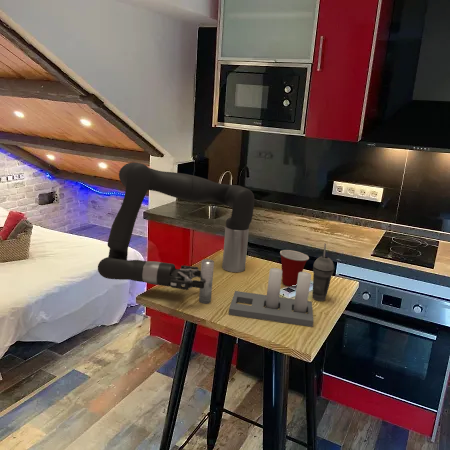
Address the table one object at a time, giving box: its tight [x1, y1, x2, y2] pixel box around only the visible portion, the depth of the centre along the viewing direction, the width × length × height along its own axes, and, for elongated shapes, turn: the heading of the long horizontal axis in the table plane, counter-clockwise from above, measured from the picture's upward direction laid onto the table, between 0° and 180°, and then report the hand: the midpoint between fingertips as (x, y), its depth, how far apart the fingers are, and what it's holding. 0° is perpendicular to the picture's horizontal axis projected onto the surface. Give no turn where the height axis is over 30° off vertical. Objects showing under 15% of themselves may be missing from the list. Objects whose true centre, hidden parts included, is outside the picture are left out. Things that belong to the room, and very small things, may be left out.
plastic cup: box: [279, 249, 310, 287], centre depth 161 cm, size 11×11×12 cm
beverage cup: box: [312, 243, 335, 302], centre depth 149 cm, size 7×7×20 cm
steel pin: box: [198, 258, 215, 305], centre depth 141 cm, size 4×4×14 cm
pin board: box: [228, 267, 314, 328], centre depth 138 cm, size 14×26×14 cm, turn 81°
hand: (206, 280), depth 141 cm, fingers open, 8 cm apart
